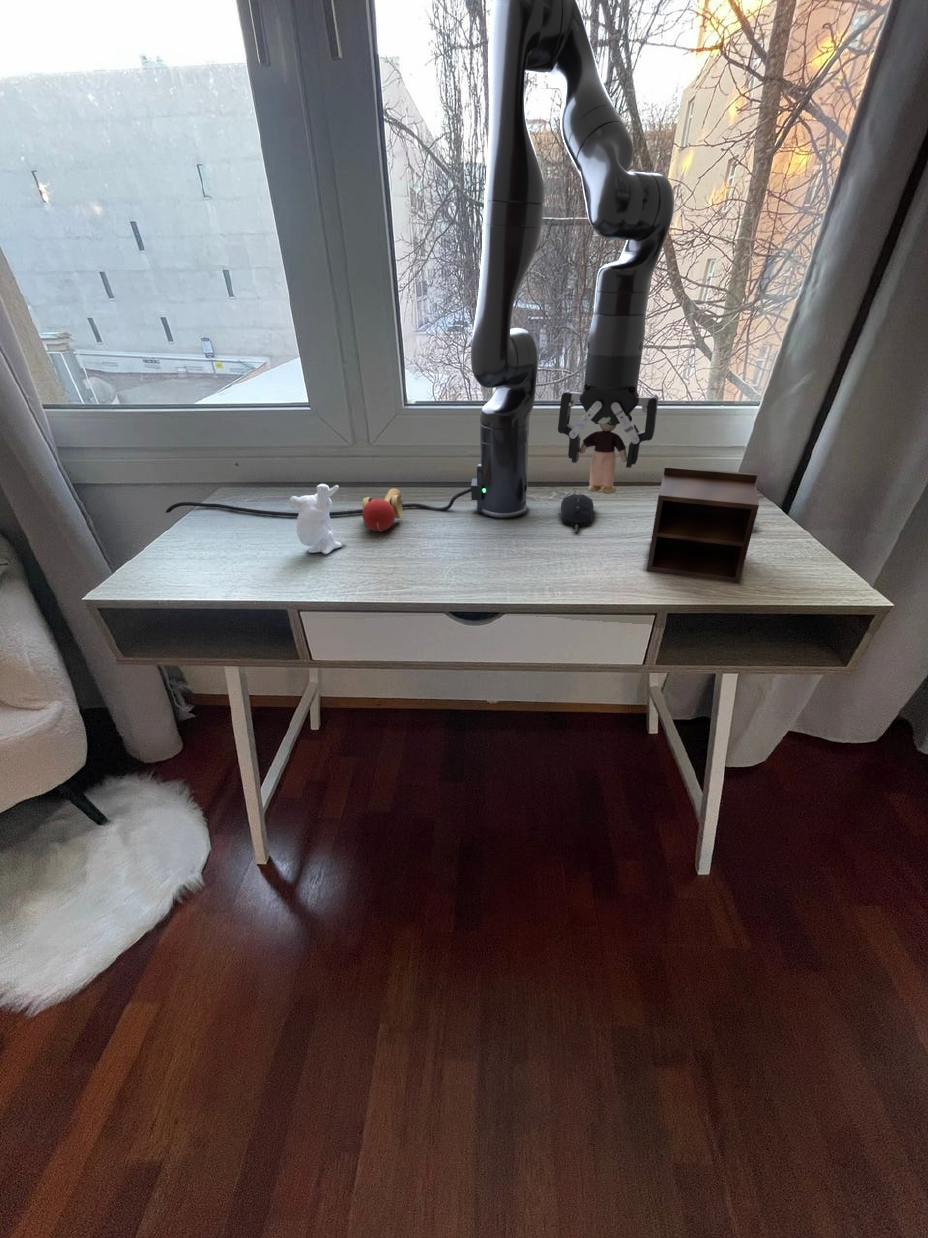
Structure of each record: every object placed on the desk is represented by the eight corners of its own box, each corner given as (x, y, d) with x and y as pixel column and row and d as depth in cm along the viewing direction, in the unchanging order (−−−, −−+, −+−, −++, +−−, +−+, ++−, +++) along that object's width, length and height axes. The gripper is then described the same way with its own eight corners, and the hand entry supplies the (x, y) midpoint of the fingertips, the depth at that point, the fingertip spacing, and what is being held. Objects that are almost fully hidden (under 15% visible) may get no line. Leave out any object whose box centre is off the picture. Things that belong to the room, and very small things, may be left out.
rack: (646, 570, 96) (659, 487, 89) (652, 543, 105) (665, 466, 97) (739, 583, 92) (761, 496, 84) (737, 554, 101) (757, 473, 93)
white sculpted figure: (349, 541, 108) (341, 477, 102) (343, 557, 102) (334, 490, 96) (303, 542, 108) (292, 478, 102) (294, 558, 102) (282, 492, 96)
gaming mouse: (559, 532, 110) (560, 512, 107) (561, 504, 122) (562, 485, 120) (593, 534, 109) (595, 514, 106) (592, 505, 121) (594, 486, 119)
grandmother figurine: (624, 489, 94) (637, 406, 88) (621, 496, 91) (634, 411, 85) (576, 483, 96) (586, 402, 90) (571, 490, 93) (581, 406, 87)
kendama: (373, 508, 126) (352, 530, 109) (377, 478, 123) (355, 496, 107) (409, 514, 126) (393, 538, 109) (413, 485, 123) (397, 505, 107)
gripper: (669, 347, 84) (651, 461, 92) (570, 343, 88) (561, 452, 97) (665, 355, 78) (646, 476, 86) (558, 351, 82) (550, 466, 91)
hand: (601, 463), depth 91 cm, fingers closed on grandmother figurine, 8 cm apart
